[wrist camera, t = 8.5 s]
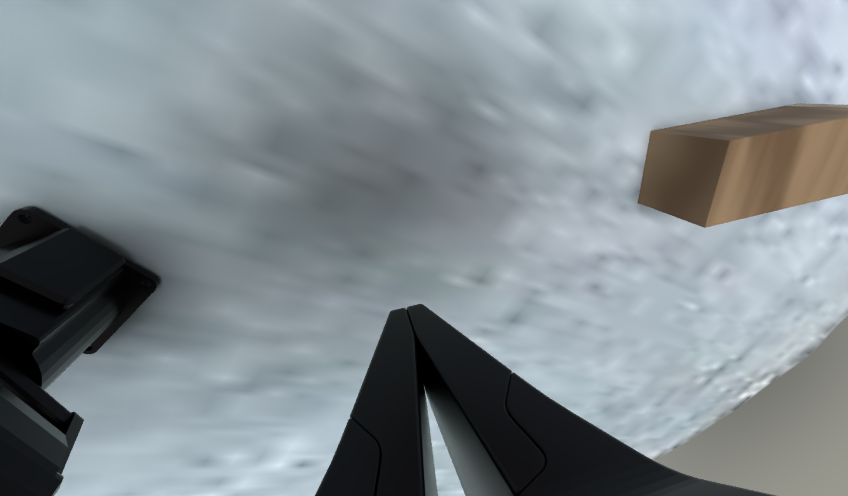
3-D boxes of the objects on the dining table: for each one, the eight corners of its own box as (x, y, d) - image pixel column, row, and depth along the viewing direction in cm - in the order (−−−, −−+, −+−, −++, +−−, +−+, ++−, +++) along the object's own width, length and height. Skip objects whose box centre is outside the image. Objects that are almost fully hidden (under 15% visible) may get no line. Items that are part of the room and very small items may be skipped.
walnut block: (704, 227, 19) (862, 190, 21) (730, 140, 17) (904, 106, 19) (637, 202, 24) (772, 173, 25) (650, 130, 21) (797, 103, 23)
